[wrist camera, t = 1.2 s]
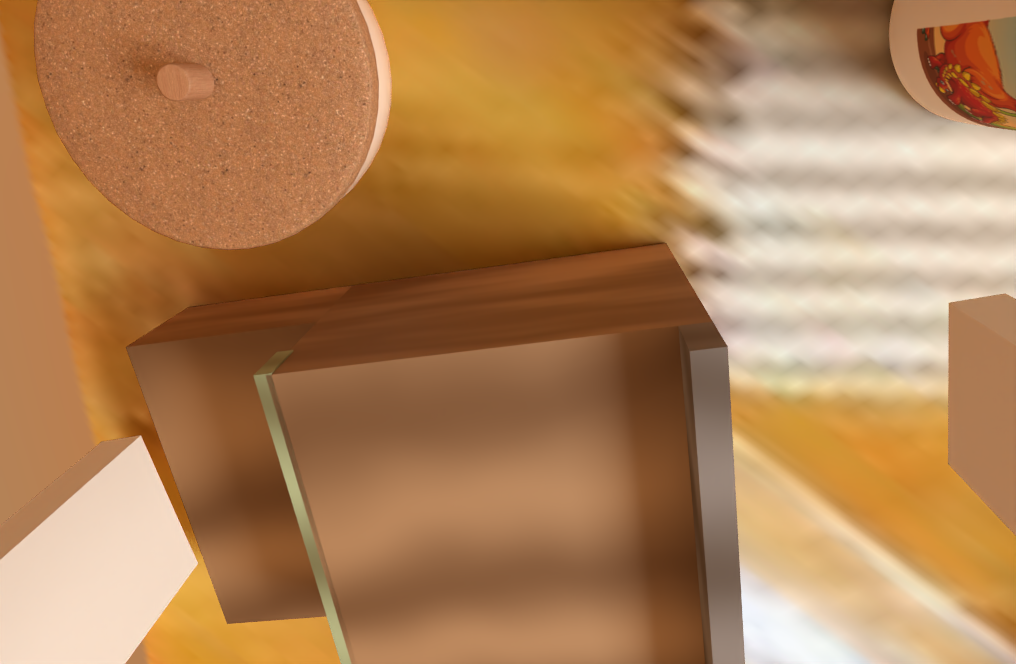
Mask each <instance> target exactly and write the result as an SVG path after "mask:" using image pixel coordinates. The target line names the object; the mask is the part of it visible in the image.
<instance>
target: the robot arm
mask: <svg viewBox="0 0 1016 664" xmlns="http://www.w3.org/2000/svg"><path fill="white" fill-rule="evenodd" d="M948 464H949V465H950V466H951V467H952V469H953V470H954V471H955V472H956V473H957V474H958V475H959V476H960V477H961V478H962V479H963V480H964V481H965V482H966V483H967V484H968V485H969V487H970V488H971V489H972V490H973V491H974V492H975V493H976V494H977V495H978V496H979V497H980V498H981V499H982V500H983V501H984V502H985V504H986V505H987V506H988V507H989V508H990V509H991V510H992V511H993V512H994V513H995V514H996V515H997V516H998V517H999V518H1000V519H1001V520H1002V522H1003V523H1004V524H1005V525H1006V526H1007V527H1008V528H1009V529H1010V530H1011V531H1012V532H1013V533H1014V534H1015V535H1016V299H1015V298H1013V297H1011V296H1009V295H1007V294H1000V295H994V296H987V297H981V298H975V299H969V300H963V301H957V302H951V303H949V389H948ZM197 564H198V562H197V560H196V558H195V556H194V553H193V551H192V549H191V547H190V544H189V542H188V540H187V538H186V536H185V533H184V531H183V529H182V527H181V524H180V522H179V520H178V518H177V515H176V513H175V511H174V509H173V506H172V504H171V502H170V500H169V497H168V495H167V493H166V491H165V488H164V486H163V484H162V482H161V479H160V477H159V475H158V473H157V470H156V468H155V466H154V464H153V462H152V459H151V457H150V455H149V453H148V450H147V448H146V446H145V444H144V441H143V439H142V437H141V435H140V436H134V437H127V438H121V439H115V440H109V441H103V442H101V443H99V444H98V445H97V446H96V447H94V448H93V449H92V450H91V451H90V452H88V453H87V454H86V455H85V456H84V457H82V458H81V459H80V460H79V461H78V462H76V463H75V464H74V465H73V466H71V468H69V469H68V470H67V471H65V473H63V474H62V475H61V476H59V477H58V478H57V479H56V480H54V482H52V483H51V484H50V485H48V486H47V487H46V488H45V489H44V490H42V491H41V492H40V493H39V494H38V495H36V496H35V497H34V498H33V499H31V500H30V501H29V502H28V503H27V504H25V505H24V506H23V507H22V508H21V509H19V510H18V511H17V512H16V513H15V514H13V515H12V516H11V517H10V518H8V519H7V520H6V521H5V522H4V523H3V524H1V525H0V664H125V663H126V662H127V660H128V659H129V658H130V656H131V655H132V653H133V652H134V651H135V649H136V648H137V646H138V645H139V644H140V642H141V641H142V640H143V638H144V637H145V636H146V634H147V633H148V631H149V630H150V629H151V627H152V626H153V625H154V623H155V622H156V620H157V619H158V618H159V616H160V615H161V614H162V612H163V611H164V609H165V608H166V607H167V605H168V604H169V603H170V601H171V600H172V598H173V597H174V596H175V594H176V593H177V592H178V590H179V589H180V588H181V586H182V585H183V583H184V582H185V581H186V579H187V578H188V577H189V575H190V574H191V572H192V571H193V570H194V568H195V567H196V566H197Z"/></svg>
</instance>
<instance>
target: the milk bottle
mask: <svg viewBox="0 0 1016 664" xmlns="http://www.w3.org/2000/svg"><path fill="white" fill-rule="evenodd" d="M889 43H890V51H891V57H892V61H893V65H894V68H895V70H896V73H897V75H898V77H899V79H900V81H901V83H902V85H903V86H904V88H905V89H906V90H907V92H908V93H909V94H910V95H911V96H912V98H913V99H914V100H916V101H917V102H918V103H919V104H920V105H921V106H923V107H924V108H926V109H927V110H928V111H930V112H932V113H934V114H936V115H938V116H941V117H943V118H946V119H950V120H953V121H958V122H963V123H967V124H973V125H980V126H987V127H994V128H1001V129H1008V130H1016V0H894V3H893V7H892V12H891V18H890V26H889Z"/></svg>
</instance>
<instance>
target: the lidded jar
mask: <svg viewBox="0 0 1016 664" xmlns="http://www.w3.org/2000/svg"><path fill="white" fill-rule="evenodd" d="M34 48H35V59H36V67H37V74H38V81H39V84H40V88H41V91H42V94H43V98H44V101H45V104H46V108H47V110H48V112H49V115H50V117H51V120H52V122H53V124H54V127H55V129H56V132H57V134H58V136H59V137H60V139H61V141H62V142H63V144H64V146H65V147H66V149H67V150H68V152H69V154H70V155H71V157H72V159H73V160H74V162H75V163H76V164H77V165H78V167H79V168H80V169H81V171H82V172H83V173H84V175H85V176H86V177H87V179H88V180H89V181H90V182H91V183H92V184H93V185H94V186H95V187H96V188H97V189H98V190H99V191H100V192H101V193H102V194H103V195H104V196H105V197H106V198H107V199H108V200H109V201H110V202H111V203H113V204H114V205H115V206H116V207H118V208H119V209H120V210H122V211H123V212H124V213H125V214H127V215H128V216H129V217H131V218H132V219H134V220H136V221H137V222H139V223H141V224H142V225H144V226H146V227H147V228H149V229H151V230H153V231H154V232H157V233H159V234H162V235H164V236H167V237H169V238H171V239H174V240H176V241H179V242H183V243H187V244H191V245H195V246H199V247H203V248H213V249H222V250H234V249H251V248H255V247H260V246H264V245H269V244H273V243H276V242H278V241H281V240H283V239H285V238H288V237H290V236H293V235H295V234H297V233H299V232H300V231H302V230H303V229H305V228H307V227H308V226H310V225H311V224H313V223H314V222H316V221H318V220H319V219H320V218H322V217H323V216H324V215H325V214H326V213H327V212H328V211H329V210H330V209H332V208H333V207H334V206H335V205H336V204H337V203H338V202H339V201H340V200H341V199H342V198H343V197H344V196H345V195H346V194H348V193H349V192H350V191H351V190H352V189H353V188H354V186H355V185H356V184H357V183H358V181H359V180H360V179H361V177H362V176H363V175H364V174H365V172H366V171H367V169H368V168H369V167H370V165H371V163H372V161H373V159H374V158H375V156H376V154H377V152H378V150H379V148H380V146H381V143H382V140H383V137H384V134H385V131H386V128H387V124H388V119H389V113H390V107H391V86H392V79H391V71H390V63H389V56H388V52H387V49H386V45H385V41H384V37H383V34H382V31H381V29H380V26H379V24H378V22H377V19H376V17H375V15H374V12H373V10H372V8H371V6H370V5H369V3H368V2H367V0H38V3H37V9H36V15H35V21H34Z"/></svg>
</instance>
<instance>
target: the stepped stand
mask: <svg viewBox="0 0 1016 664" xmlns="http://www.w3.org/2000/svg"><path fill="white" fill-rule="evenodd" d="M126 349H127V352H128V354H129V357H130V360H131V363H132V365H133V368H134V371H135V373H136V376H137V379H138V382H139V384H140V387H141V390H142V393H143V395H144V398H145V401H146V403H147V406H148V409H149V412H150V414H151V417H152V420H153V423H154V425H155V428H156V431H157V433H158V436H159V439H160V442H161V444H162V447H163V450H164V453H165V455H166V458H167V461H168V464H169V466H170V469H171V472H172V474H173V477H174V480H175V483H176V485H177V488H178V491H179V494H180V496H181V499H182V502H183V504H184V507H185V510H186V513H187V515H188V518H189V521H190V524H191V526H192V529H193V532H194V534H195V537H196V540H197V543H198V545H199V548H200V551H201V554H202V556H203V559H204V562H205V564H206V567H207V570H208V573H209V575H210V578H211V581H212V584H213V586H214V589H215V592H216V594H217V597H218V600H219V603H220V605H221V608H222V611H223V614H224V616H225V619H226V622H227V624H231V623H245V622H258V621H271V620H284V619H298V618H311V617H324V616H327V619H328V622H329V626H330V629H331V632H332V635H333V639H334V642H335V645H336V649H337V652H338V655H339V658H340V662H341V664H745V657H744V639H743V621H742V602H741V584H740V566H739V547H738V529H737V511H736V493H735V474H734V456H733V438H732V420H731V401H730V383H729V365H728V347H727V345H726V343H725V342H724V340H723V338H722V337H721V335H720V333H719V332H718V330H717V328H716V327H715V325H714V323H713V321H712V320H711V318H710V316H709V315H708V313H707V311H706V310H705V308H704V306H703V305H702V303H701V301H700V300H699V298H698V296H697V295H696V293H695V291H694V290H693V288H692V286H691V284H690V283H689V281H688V279H687V278H686V276H685V274H684V273H683V271H682V269H681V268H680V266H679V264H678V263H677V261H676V259H675V258H674V256H673V254H672V253H671V251H670V249H669V247H668V246H667V244H666V243H664V244H656V245H649V246H641V247H634V248H627V249H619V250H612V251H604V252H597V253H589V254H582V255H575V256H567V257H560V258H552V259H545V260H537V261H530V262H522V263H515V264H508V265H500V266H493V267H485V268H478V269H470V270H463V271H456V272H448V273H441V274H433V275H426V276H418V277H411V278H404V279H396V280H389V281H381V282H374V283H366V284H359V285H352V286H344V287H337V288H329V289H322V290H314V291H307V292H300V293H292V294H285V295H277V296H270V297H262V298H255V299H247V300H240V301H233V302H225V303H218V304H210V305H203V306H195V307H188V308H186V309H185V310H183V311H182V312H180V313H179V314H177V315H176V316H174V317H172V318H171V319H169V320H168V321H166V322H165V323H163V324H161V325H160V326H158V327H157V328H155V329H154V330H152V331H150V332H149V333H147V334H146V335H144V336H143V337H141V338H139V339H138V340H136V341H135V342H133V343H132V344H130V345H129V346H127V347H126Z"/></svg>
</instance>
